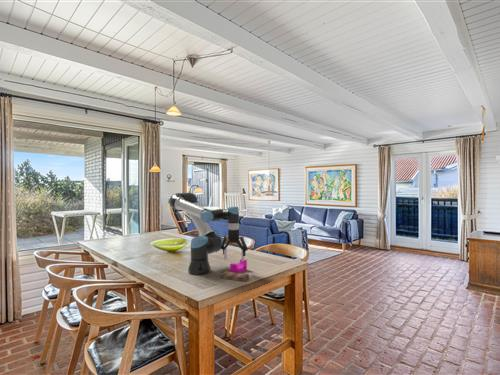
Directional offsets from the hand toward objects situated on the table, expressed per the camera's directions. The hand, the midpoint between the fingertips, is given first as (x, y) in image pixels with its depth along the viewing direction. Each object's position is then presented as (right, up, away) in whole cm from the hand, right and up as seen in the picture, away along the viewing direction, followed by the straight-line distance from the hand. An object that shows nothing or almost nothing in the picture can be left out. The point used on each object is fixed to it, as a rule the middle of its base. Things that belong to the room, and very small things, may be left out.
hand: (234, 260), depth 189 cm
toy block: (+2, -9, 0) cm, 9 cm away
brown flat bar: (+1, -8, -13) cm, 15 cm away
